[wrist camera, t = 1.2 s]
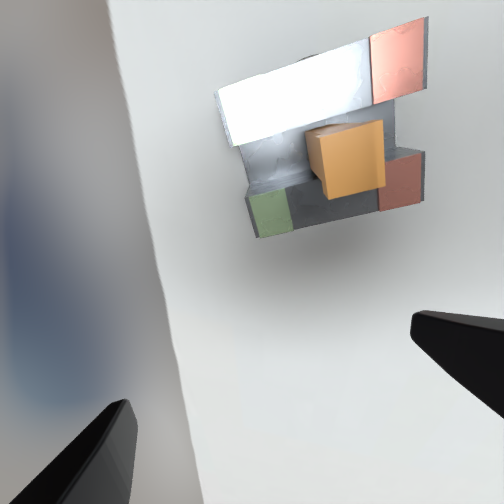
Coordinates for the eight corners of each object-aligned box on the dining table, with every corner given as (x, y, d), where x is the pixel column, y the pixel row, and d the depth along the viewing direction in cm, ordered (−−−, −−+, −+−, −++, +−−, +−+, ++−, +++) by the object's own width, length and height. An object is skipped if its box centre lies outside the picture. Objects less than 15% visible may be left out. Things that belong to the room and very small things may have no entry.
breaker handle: (334, 122, 16) (382, 119, 9) (338, 160, 17) (385, 186, 10) (299, 132, 16) (319, 137, 9) (306, 169, 17) (328, 199, 10)
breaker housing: (386, 40, 16) (431, 6, 11) (390, 187, 20) (425, 206, 16) (227, 95, 18) (211, 85, 14) (260, 218, 22) (257, 242, 18)
